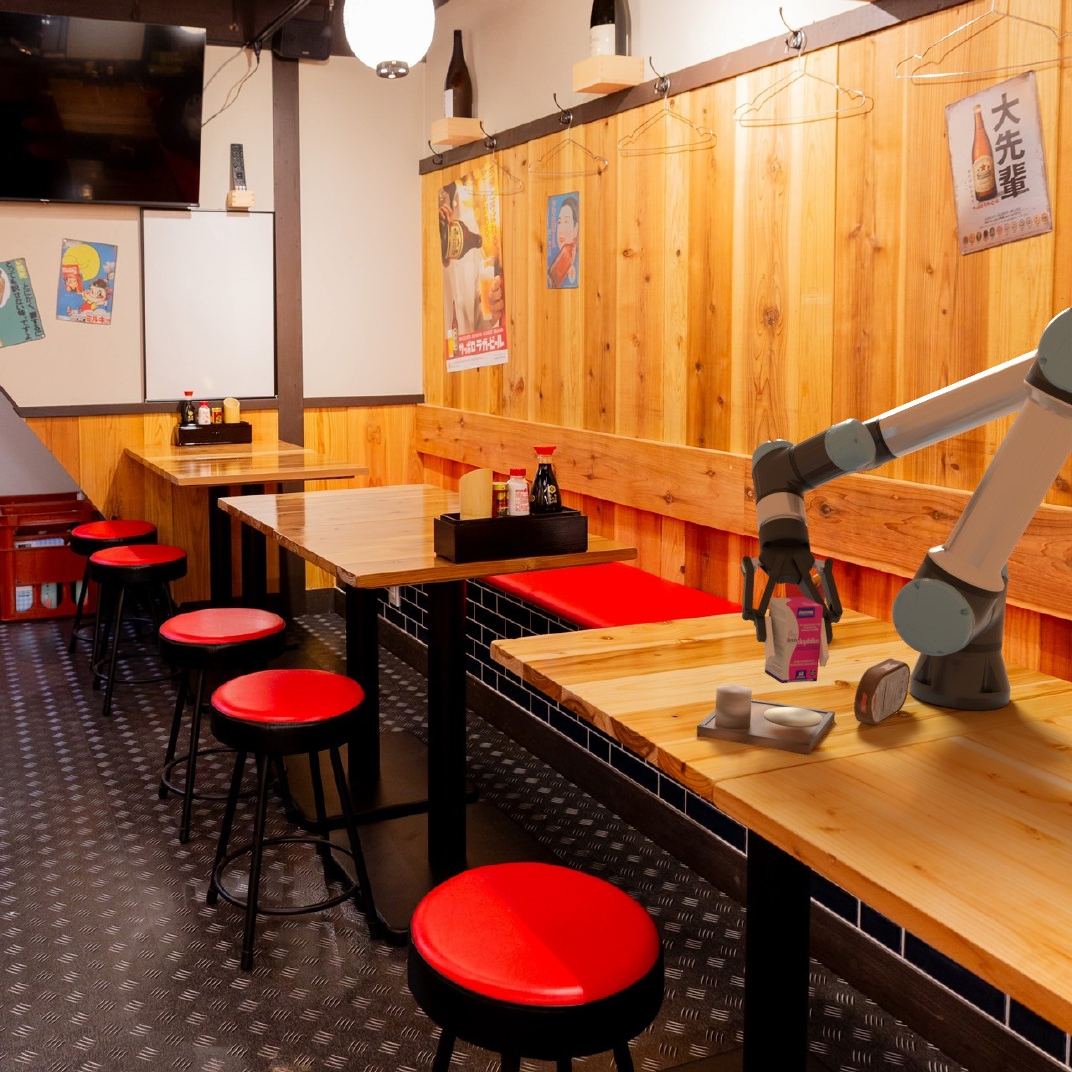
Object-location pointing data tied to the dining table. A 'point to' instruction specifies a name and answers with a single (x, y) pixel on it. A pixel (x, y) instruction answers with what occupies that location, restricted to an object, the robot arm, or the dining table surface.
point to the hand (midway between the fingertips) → (797, 661)
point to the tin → (881, 691)
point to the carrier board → (764, 721)
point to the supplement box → (795, 639)
